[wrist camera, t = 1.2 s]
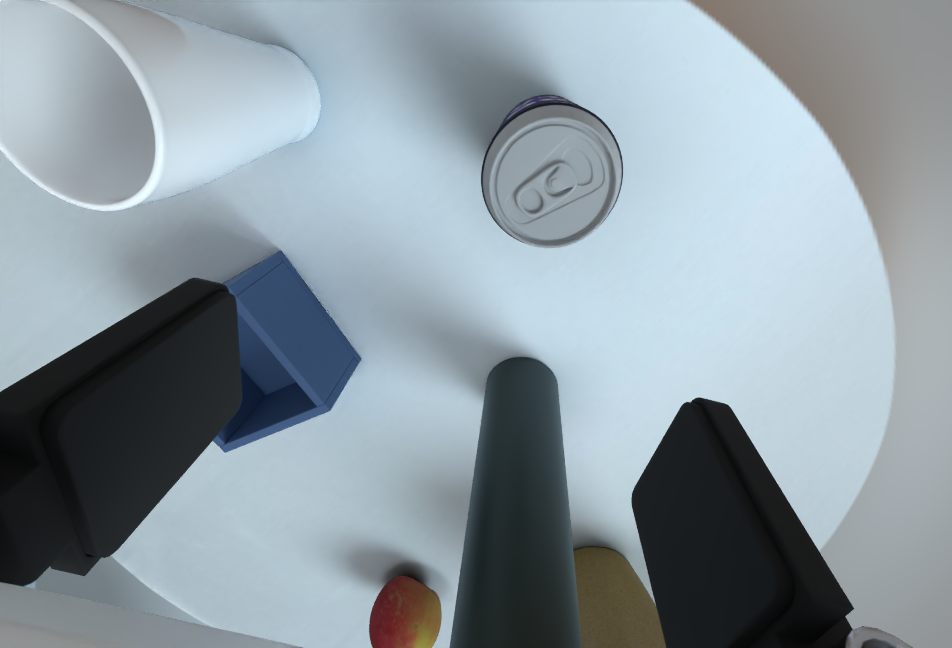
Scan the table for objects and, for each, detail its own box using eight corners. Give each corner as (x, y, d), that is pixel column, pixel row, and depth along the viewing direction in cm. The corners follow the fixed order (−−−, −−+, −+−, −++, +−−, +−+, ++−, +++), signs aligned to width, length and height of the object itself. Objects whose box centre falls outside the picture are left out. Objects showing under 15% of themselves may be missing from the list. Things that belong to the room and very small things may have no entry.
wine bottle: (551, 352, 34) (624, 1213, 8) (562, 410, 37) (643, 1206, 11) (479, 362, 36) (342, 1146, 9) (494, 417, 38) (420, 1155, 12)
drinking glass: (271, 170, 30) (71, 241, 17) (206, 63, 27) (-93, 47, 14) (356, 127, 28) (206, 170, 15) (296, 8, 25) (47, -69, 12)
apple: (367, 579, 52) (342, 657, 45) (409, 551, 48) (389, 630, 41) (418, 609, 54) (401, 688, 47) (462, 584, 50) (451, 665, 43)
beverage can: (607, 156, 27) (656, 203, 17) (530, 210, 29) (531, 282, 19) (557, 71, 25) (578, 66, 15) (478, 135, 28) (448, 170, 17)
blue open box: (185, 304, 36) (119, 347, 30) (281, 250, 33) (228, 286, 27) (268, 399, 40) (224, 453, 34) (361, 359, 37) (330, 411, 31)
